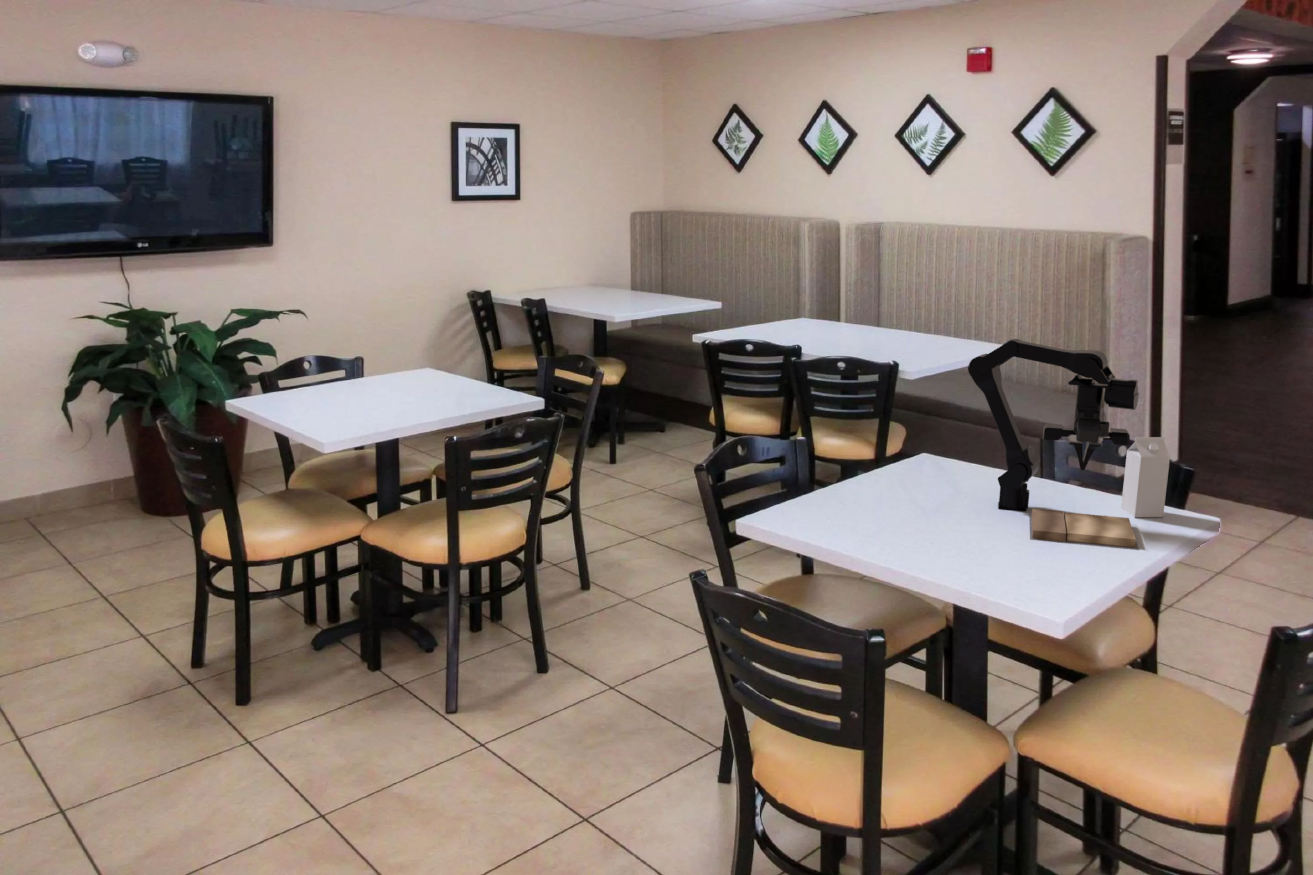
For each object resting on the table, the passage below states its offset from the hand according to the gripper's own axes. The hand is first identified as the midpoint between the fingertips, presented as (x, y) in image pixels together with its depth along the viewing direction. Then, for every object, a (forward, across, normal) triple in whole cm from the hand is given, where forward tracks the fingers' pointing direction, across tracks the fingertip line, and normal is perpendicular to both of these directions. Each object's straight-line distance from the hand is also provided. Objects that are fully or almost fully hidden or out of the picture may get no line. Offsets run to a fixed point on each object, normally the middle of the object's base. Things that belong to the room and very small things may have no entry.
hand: (1082, 470), depth 264 cm
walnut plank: (+12, -7, -12) cm, 18 cm away
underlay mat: (+12, 0, -12) cm, 17 cm away
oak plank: (+12, +4, -12) cm, 17 cm away
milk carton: (+12, +15, +10) cm, 22 cm away
